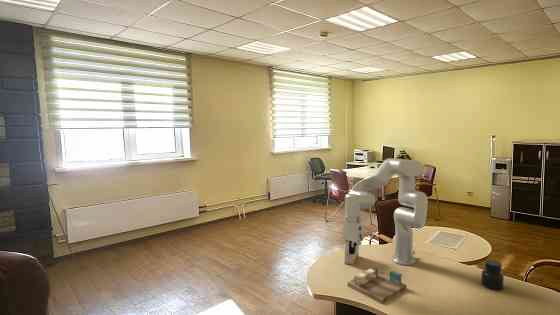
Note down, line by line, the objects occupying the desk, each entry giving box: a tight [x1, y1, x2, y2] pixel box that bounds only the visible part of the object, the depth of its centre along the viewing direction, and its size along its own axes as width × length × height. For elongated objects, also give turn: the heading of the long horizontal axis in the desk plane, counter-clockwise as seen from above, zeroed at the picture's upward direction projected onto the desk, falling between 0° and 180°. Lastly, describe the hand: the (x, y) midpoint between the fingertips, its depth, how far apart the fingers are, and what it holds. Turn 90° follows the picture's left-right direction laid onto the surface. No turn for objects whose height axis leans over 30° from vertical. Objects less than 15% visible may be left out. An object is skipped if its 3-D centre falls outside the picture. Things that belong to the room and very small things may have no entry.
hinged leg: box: [353, 266, 379, 286], centre depth 157 cm, size 16×3×4 cm, turn 127°
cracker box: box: [344, 240, 360, 266], centre depth 184 cm, size 14×6×21 cm, turn 155°
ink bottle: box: [480, 259, 505, 291], centre depth 152 cm, size 10×9×12 cm
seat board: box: [347, 269, 407, 305], centre depth 154 cm, size 20×20×7 cm
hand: (351, 253), depth 158 cm, fingers closed
